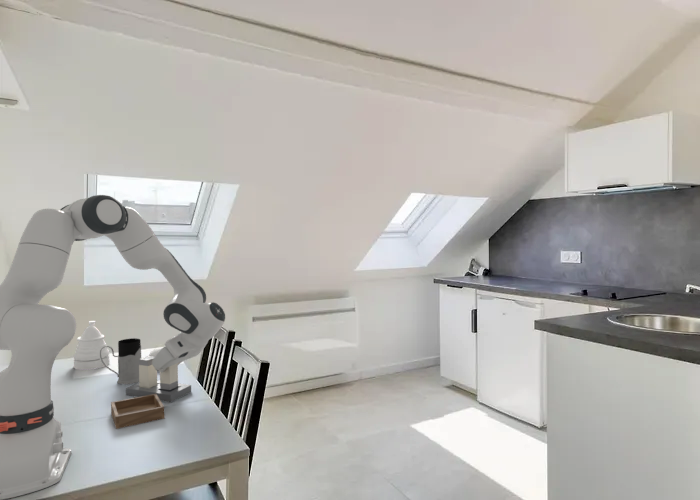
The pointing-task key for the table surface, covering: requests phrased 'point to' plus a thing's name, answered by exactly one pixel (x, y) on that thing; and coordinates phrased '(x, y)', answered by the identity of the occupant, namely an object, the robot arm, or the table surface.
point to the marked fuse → (169, 378)
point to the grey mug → (127, 360)
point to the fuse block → (159, 391)
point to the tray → (137, 410)
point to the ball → (154, 352)
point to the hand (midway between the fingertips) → (167, 368)
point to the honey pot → (91, 349)
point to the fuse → (147, 373)
